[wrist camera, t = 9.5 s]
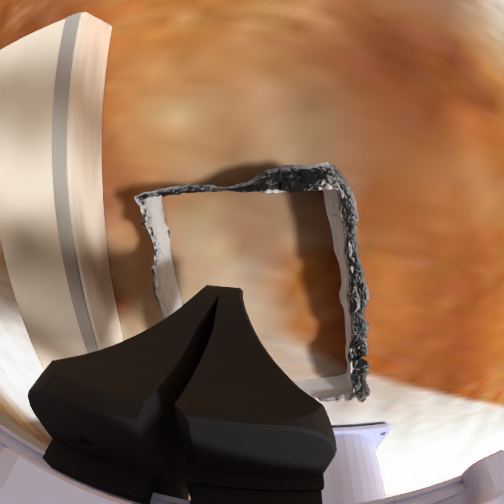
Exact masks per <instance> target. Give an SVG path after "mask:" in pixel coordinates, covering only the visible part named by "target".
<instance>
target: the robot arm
mask: <svg viewBox="0 0 504 504" xmlns="http://www.w3.org/2000/svg"><path fill="white" fill-rule="evenodd" d="M28 399H29V403H30V406H31V408H32V410H33V412H34V413H35V415H36V416H37V418H38V419H39V421H40V422H41V423H42V425H43V426H44V428H45V429H46V430H47V432H48V433H49V434H50V436H51V437H52V438H53V439H52V441H51V443H50V444H49V446H48V448H47V450H46V451H44V450H42V449H40V448H38V447H37V446H35V445H33V444H31V443H30V442H28V441H26V440H24V439H23V438H21V437H19V436H18V435H16V434H15V433H13V432H11V431H10V430H8V429H7V428H5V427H4V426H2V425H1V424H0V504H504V451H503V450H500V451H498V452H496V453H494V454H492V455H490V456H488V457H485V458H483V459H481V460H479V461H477V462H476V463H474V464H473V465H472V466H470V467H469V468H468V469H467V470H466V471H465V472H464V473H463V474H462V475H461V476H459V477H456V478H453V479H451V480H448V481H445V482H442V483H439V484H436V485H433V486H430V487H427V488H423V489H420V490H416V491H413V492H409V493H405V494H401V495H397V496H393V497H388V498H386V495H385V490H384V485H383V481H382V476H381V472H380V467H379V463H378V458H377V454H376V449H377V448H378V446H379V445H380V444H381V442H382V441H383V439H384V438H385V437H386V435H387V434H388V432H389V431H390V430H391V425H390V424H388V423H386V424H377V425H367V426H356V427H340V428H332V425H331V423H330V420H329V417H328V415H327V413H326V410H325V408H324V406H323V405H322V404H321V403H319V402H318V401H317V400H315V399H314V398H312V397H311V396H310V395H308V394H307V393H306V392H304V391H303V390H302V389H300V388H299V387H298V386H297V385H296V384H295V383H294V382H293V381H292V380H291V379H290V378H289V377H288V376H287V375H286V374H285V373H284V372H283V371H282V370H281V368H280V367H279V366H278V365H277V364H276V363H275V362H274V360H273V359H272V358H271V356H270V355H269V354H268V352H267V351H266V349H265V348H264V346H263V345H262V343H261V342H260V340H259V338H258V336H257V335H256V333H255V331H254V329H253V327H252V325H251V322H250V320H249V317H248V315H247V312H246V309H245V306H244V302H243V291H242V290H241V289H240V288H231V287H220V286H209V285H207V286H205V287H204V288H203V289H202V290H200V291H199V292H198V293H197V294H196V295H195V296H194V297H192V298H191V299H190V300H189V301H188V302H186V303H185V304H184V305H183V306H181V307H180V308H179V309H178V310H176V311H175V312H174V313H172V314H171V315H169V316H168V317H167V318H165V319H164V320H162V321H161V322H159V323H158V324H156V325H154V326H153V327H151V328H149V329H147V330H146V331H144V332H142V333H140V334H138V335H136V336H134V337H131V338H129V339H127V340H125V341H122V342H120V343H118V344H115V345H113V346H110V347H107V348H104V349H101V350H98V351H94V352H91V353H87V354H83V355H79V356H74V357H69V358H64V359H58V360H52V361H51V363H50V364H49V365H48V366H47V368H46V369H45V370H44V372H43V373H42V374H41V375H40V377H39V378H38V379H37V381H36V382H35V383H34V385H33V386H32V388H31V389H30V390H29V393H28ZM189 495H190V497H191V501H190V500H188V496H189Z"/></svg>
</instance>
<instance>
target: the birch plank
mask: <svg viewBox="0 0 504 504" xmlns="http://www.w3.org/2000/svg"><path fill="white" fill-rule="evenodd" d="M111 31H112V26H110V25H109V24H107V23H105V22H103V21H102V20H100V19H98V18H96V17H94V16H93V15H91V14H89V13H87V12H83V13H81V12H80V13H77V14H74V15H71V16H69V17H66V19H64V20H61V21H59V22H56V23H54V24H51V25H49V26H47V27H44V28H42V29H40V30H38V31H36V32H34V33H31V34H29V35H27V36H25V37H23V38H21V39H19V40H18V41H16V42H14V43H12V44H10V45H8V46H6V47H5V48H3V49H1V50H0V239H1V244H2V249H3V253H4V258H5V262H6V266H7V270H8V274H9V278H10V281H11V285H12V288H13V292H14V295H15V298H16V301H17V304H18V307H19V310H20V313H21V316H22V319H23V322H24V324H25V327H26V330H27V332H28V335H29V337H30V340H31V342H32V345H33V347H34V349H35V352H36V354H37V356H38V359H39V361H40V363H41V365H42V367H43V369H44V370H45V369H46V368H47V366H48V365H49V364H50V363H51V361H52V360H58V359H64V358H69V357H74V356H79V355H83V354H87V353H91V352H94V351H98V350H101V349H104V348H107V347H110V346H113V345H115V344H118V343H120V342H122V341H124V340H123V335H122V331H121V326H120V322H119V317H118V312H117V307H116V301H115V296H114V290H113V284H112V278H111V271H110V264H109V257H108V249H107V240H106V231H105V220H104V207H103V190H102V113H103V97H104V84H105V74H106V65H107V57H108V50H109V43H110V37H111Z"/></svg>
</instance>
